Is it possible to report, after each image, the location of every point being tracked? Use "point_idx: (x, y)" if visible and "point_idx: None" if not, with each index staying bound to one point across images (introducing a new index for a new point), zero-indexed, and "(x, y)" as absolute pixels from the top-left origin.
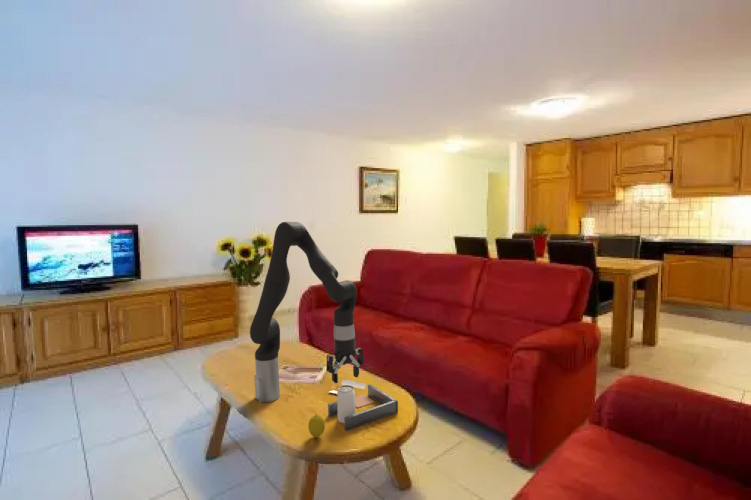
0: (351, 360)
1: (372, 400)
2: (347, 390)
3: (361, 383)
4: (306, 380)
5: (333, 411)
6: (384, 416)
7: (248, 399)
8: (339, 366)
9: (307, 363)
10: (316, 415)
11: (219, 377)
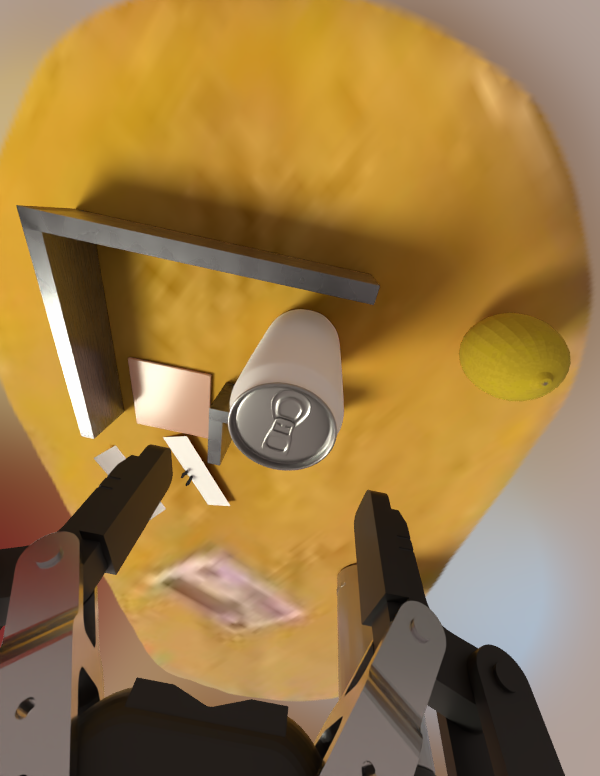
0: (79, 748)
1: (130, 371)
2: (285, 409)
3: (108, 471)
4: (235, 572)
5: None
6: (156, 227)
7: None
8: (389, 729)
9: (182, 610)
10: (550, 379)
11: None
